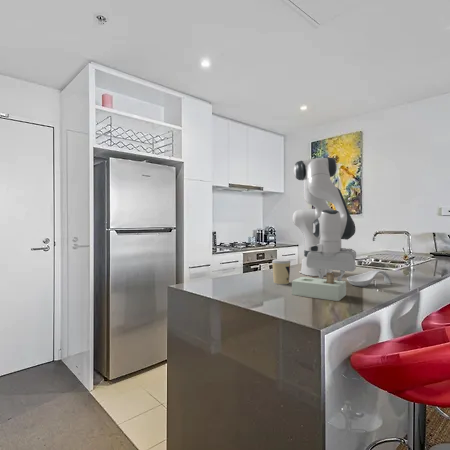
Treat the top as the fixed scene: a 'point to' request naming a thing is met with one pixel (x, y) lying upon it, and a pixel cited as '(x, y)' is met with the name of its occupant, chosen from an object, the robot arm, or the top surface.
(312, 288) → the hole block
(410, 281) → the top surface
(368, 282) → the spoon rest
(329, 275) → the peg
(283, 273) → the coffee cup
